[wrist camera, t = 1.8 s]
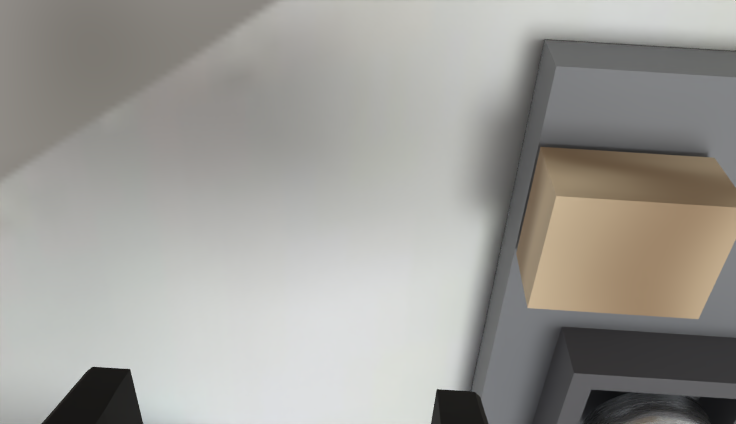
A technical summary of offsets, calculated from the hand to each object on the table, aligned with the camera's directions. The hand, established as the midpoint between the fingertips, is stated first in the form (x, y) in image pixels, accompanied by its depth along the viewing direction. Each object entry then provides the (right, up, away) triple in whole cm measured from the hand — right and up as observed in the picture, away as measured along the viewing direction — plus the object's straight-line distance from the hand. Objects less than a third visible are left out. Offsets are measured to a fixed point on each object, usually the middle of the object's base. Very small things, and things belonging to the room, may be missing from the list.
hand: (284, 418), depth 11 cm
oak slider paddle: (+7, +3, +5) cm, 10 cm away
